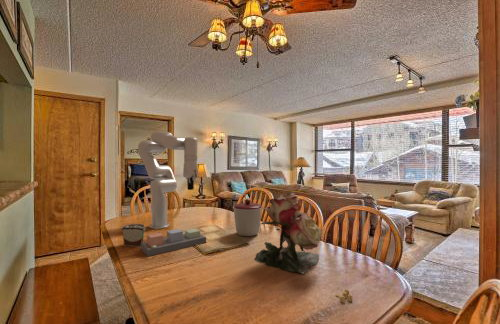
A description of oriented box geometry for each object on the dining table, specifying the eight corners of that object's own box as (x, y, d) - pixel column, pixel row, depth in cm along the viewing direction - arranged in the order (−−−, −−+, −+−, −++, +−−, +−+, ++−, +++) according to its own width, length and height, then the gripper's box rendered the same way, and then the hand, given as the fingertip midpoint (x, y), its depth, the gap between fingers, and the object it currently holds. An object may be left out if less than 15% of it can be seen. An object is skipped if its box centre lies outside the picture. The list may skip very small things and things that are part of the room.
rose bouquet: (315, 279, 91) (315, 199, 90) (249, 261, 106) (249, 193, 106) (331, 256, 112) (332, 192, 112) (275, 244, 128) (275, 187, 128)
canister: (227, 236, 140) (227, 200, 140) (240, 228, 157) (240, 196, 157) (256, 240, 133) (256, 202, 133) (266, 231, 150) (266, 197, 150)
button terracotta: (146, 244, 119) (146, 234, 119) (159, 242, 123) (159, 232, 123) (150, 248, 114) (150, 237, 114) (163, 245, 118) (163, 235, 118)
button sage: (185, 239, 132) (185, 230, 132) (195, 237, 135) (195, 228, 135) (189, 242, 127) (189, 232, 127) (200, 240, 131) (200, 230, 131)
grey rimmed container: (150, 242, 129) (150, 223, 129) (143, 246, 123) (143, 227, 123) (128, 241, 131) (128, 223, 131) (121, 245, 125) (121, 226, 124)
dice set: (347, 294, 81) (347, 289, 81) (356, 303, 76) (356, 297, 76) (333, 295, 81) (333, 289, 81) (341, 304, 76) (341, 298, 76)
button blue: (166, 240, 125) (166, 230, 125) (177, 238, 129) (178, 228, 129) (171, 243, 121) (171, 233, 121) (182, 241, 124) (182, 231, 124)
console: (140, 248, 120) (140, 241, 120) (195, 236, 139) (195, 230, 139) (148, 256, 111) (148, 248, 111) (206, 242, 130) (206, 235, 130)
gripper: (179, 158, 145) (179, 188, 145) (190, 158, 134) (190, 191, 134) (191, 158, 150) (190, 187, 150) (202, 158, 138) (202, 190, 138)
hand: (190, 189), depth 142 cm, fingers closed
